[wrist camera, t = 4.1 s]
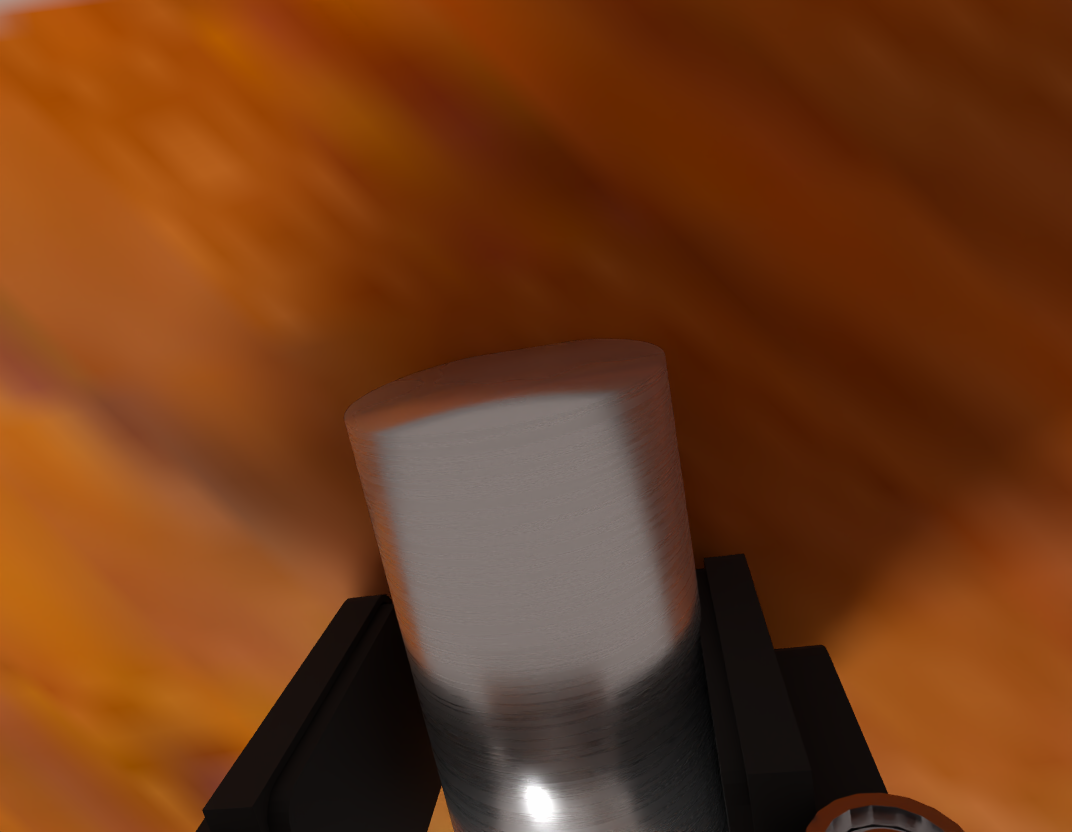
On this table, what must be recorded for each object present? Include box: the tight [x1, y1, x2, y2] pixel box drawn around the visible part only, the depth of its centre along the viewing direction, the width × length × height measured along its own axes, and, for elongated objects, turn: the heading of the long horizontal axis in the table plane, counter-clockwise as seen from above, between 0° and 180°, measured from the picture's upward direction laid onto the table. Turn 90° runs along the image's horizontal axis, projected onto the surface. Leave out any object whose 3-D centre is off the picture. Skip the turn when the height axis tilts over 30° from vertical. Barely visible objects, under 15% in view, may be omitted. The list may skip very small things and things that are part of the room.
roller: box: [344, 339, 729, 832], centre depth 9 cm, size 9×4×4 cm, turn 11°
